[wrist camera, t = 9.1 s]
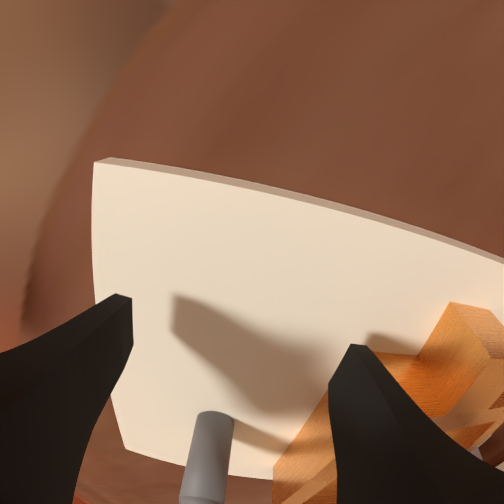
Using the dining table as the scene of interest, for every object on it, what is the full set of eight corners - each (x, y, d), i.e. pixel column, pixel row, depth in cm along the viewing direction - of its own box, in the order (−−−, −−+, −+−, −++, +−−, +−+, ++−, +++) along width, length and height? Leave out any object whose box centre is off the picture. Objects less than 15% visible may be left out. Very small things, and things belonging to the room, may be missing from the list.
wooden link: (394, 464, 16) (401, 501, 13) (272, 466, 16) (271, 510, 13) (522, 316, 10) (556, 357, 7) (382, 286, 10) (419, 354, 7)
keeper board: (388, 465, 19) (400, 530, 12) (129, 436, 18) (104, 510, 11) (538, 273, 10) (609, 345, 4) (111, 157, 10) (-49, 220, 3)
